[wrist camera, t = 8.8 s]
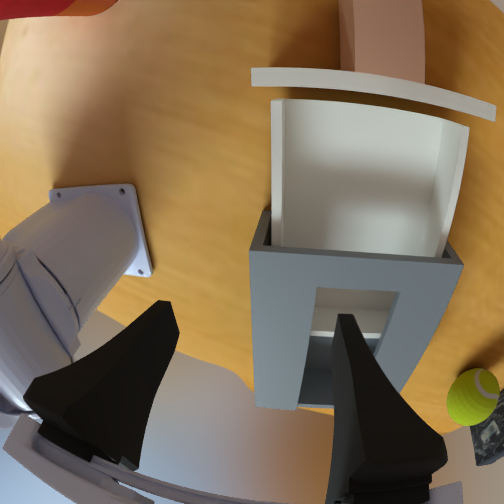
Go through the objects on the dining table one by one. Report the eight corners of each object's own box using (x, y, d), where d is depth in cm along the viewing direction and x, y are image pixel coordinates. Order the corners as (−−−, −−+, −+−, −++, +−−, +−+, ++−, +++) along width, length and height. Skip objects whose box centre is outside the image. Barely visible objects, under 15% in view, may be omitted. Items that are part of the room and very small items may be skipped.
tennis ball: (499, 356, 23) (516, 402, 17) (469, 389, 27) (479, 432, 21) (463, 354, 23) (479, 406, 18) (431, 390, 27) (440, 438, 21)
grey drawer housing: (263, 363, 28) (255, 406, 23) (262, 210, 19) (249, 250, 15) (382, 369, 26) (387, 411, 22) (435, 224, 17) (464, 265, 13)
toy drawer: (267, 298, 23) (257, 350, 18) (264, -4, 12) (246, -36, 7) (406, 306, 21) (421, 356, 17) (451, 23, 10) (495, 11, 6)
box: (511, 381, 25) (527, 435, 17) (523, 385, 26) (539, 434, 18) (466, 415, 30) (475, 467, 22) (482, 417, 31) (491, 464, 23)
